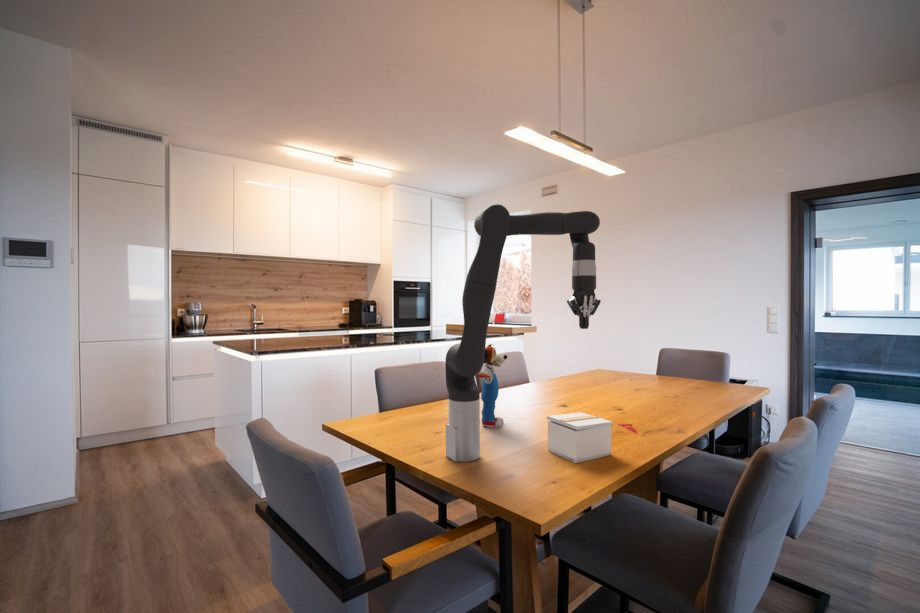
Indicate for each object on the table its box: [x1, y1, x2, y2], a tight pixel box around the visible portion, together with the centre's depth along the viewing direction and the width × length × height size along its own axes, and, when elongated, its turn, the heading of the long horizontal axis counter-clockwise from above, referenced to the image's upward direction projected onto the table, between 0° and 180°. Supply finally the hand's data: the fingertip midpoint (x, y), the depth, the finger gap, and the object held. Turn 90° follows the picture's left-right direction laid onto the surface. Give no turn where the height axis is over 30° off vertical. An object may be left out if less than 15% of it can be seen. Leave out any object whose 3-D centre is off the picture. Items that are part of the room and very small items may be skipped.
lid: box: [546, 411, 613, 430], centre depth 130 cm, size 14×13×1 cm
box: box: [547, 420, 612, 464], centre depth 130 cm, size 14×12×9 cm
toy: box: [476, 344, 508, 428], centre depth 160 cm, size 34×10×30 cm, turn 168°
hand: (584, 328), depth 139 cm, fingers closed
